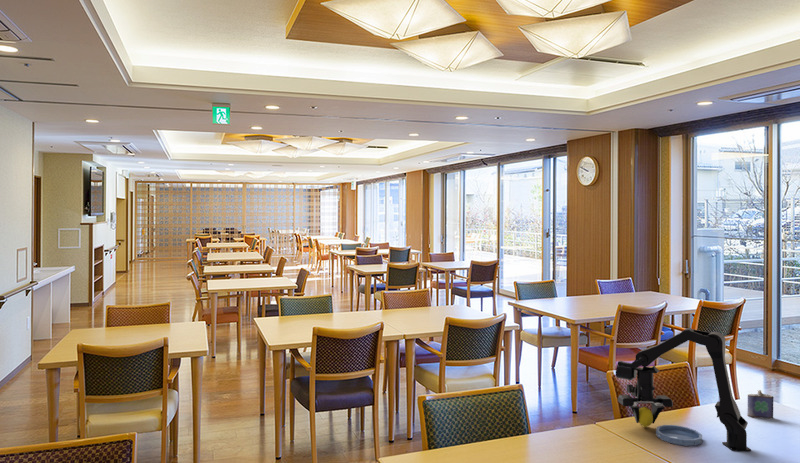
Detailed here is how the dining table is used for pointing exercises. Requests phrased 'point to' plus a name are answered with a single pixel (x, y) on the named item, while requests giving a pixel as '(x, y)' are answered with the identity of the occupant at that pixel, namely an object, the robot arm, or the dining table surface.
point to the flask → (760, 405)
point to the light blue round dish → (679, 435)
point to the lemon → (645, 416)
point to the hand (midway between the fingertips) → (645, 423)
